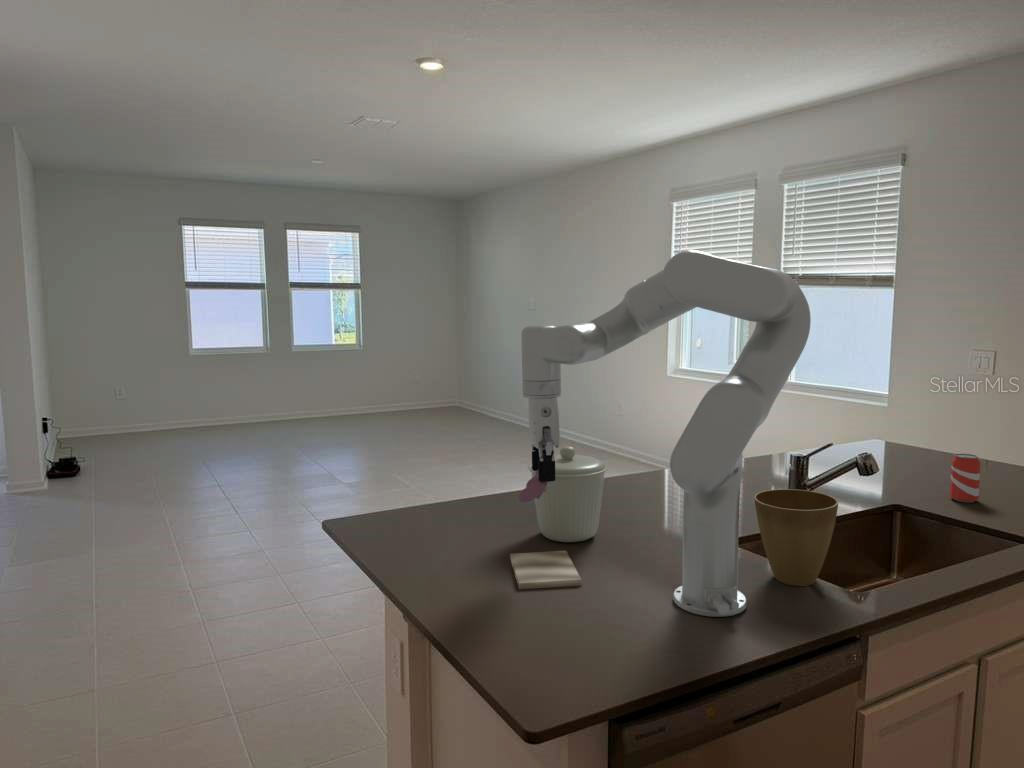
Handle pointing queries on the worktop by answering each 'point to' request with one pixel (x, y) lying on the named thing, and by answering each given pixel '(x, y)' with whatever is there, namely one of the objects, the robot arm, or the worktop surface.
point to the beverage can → (965, 478)
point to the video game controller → (533, 489)
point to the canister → (571, 498)
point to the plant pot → (796, 532)
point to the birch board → (544, 570)
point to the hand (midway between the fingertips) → (543, 475)
